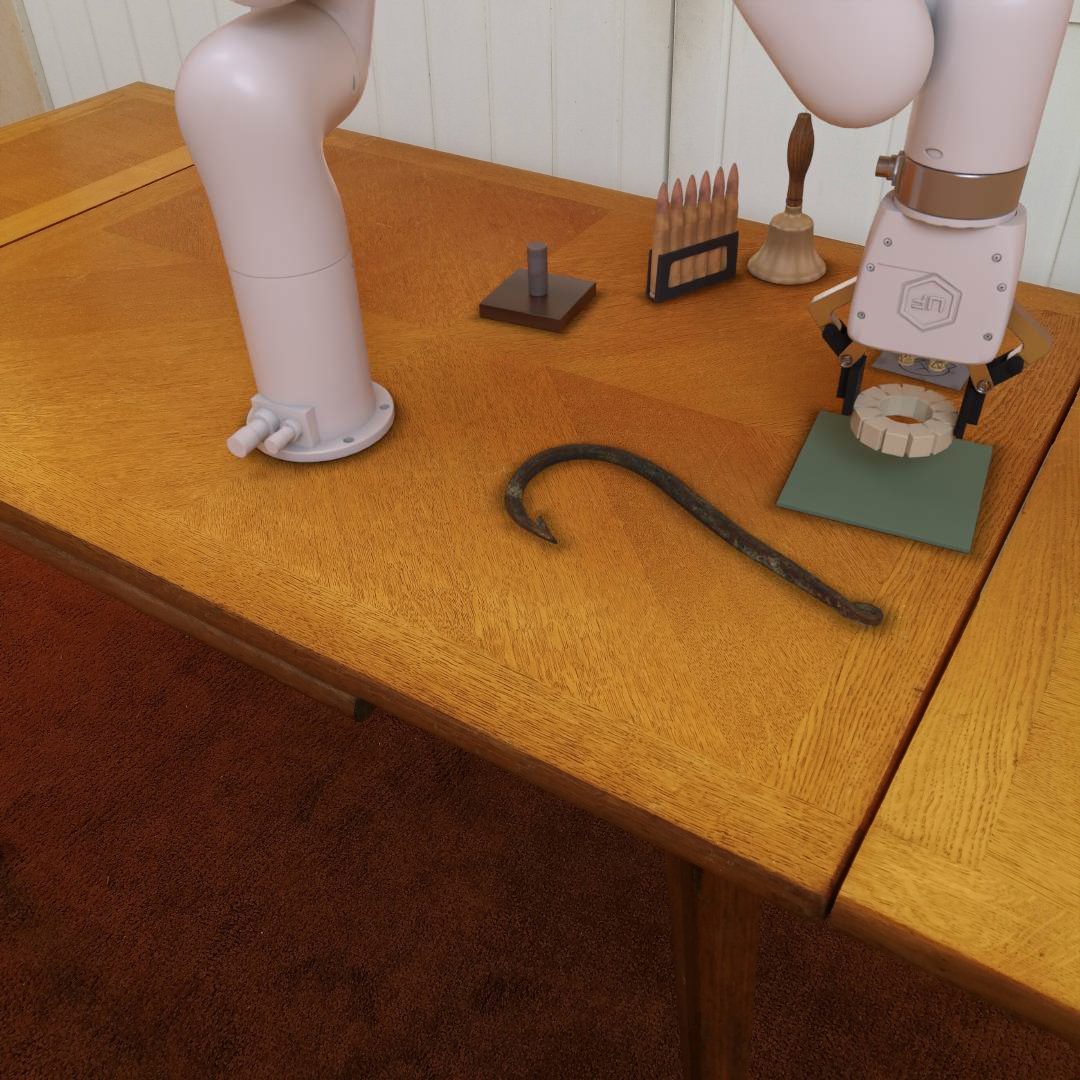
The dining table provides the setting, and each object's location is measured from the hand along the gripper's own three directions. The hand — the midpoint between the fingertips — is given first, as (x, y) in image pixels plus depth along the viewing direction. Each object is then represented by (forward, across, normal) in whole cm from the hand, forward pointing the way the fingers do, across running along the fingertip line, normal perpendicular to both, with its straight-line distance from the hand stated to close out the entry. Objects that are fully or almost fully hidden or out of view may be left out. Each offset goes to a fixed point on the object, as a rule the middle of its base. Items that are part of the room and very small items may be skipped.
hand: (904, 416), depth 75 cm
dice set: (+6, 0, +20) cm, 21 cm away
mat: (+6, 0, 0) cm, 6 cm away
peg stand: (+5, -38, +16) cm, 42 cm away
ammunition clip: (+6, -25, +26) cm, 37 cm away
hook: (+6, -13, -15) cm, 20 cm away
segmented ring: (+1, 0, 0) cm, 1 cm away
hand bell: (+6, -17, +34) cm, 39 cm away
